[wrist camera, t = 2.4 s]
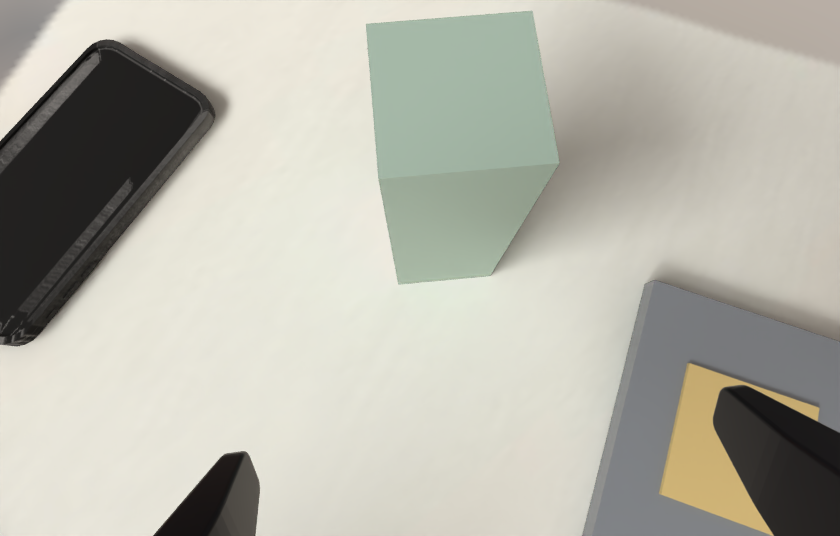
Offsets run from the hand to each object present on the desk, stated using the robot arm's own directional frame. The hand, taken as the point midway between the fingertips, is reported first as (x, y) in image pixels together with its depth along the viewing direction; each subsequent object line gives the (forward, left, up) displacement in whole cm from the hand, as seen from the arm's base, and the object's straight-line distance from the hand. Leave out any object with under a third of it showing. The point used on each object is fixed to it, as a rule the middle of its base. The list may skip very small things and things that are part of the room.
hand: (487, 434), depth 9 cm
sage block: (+8, +3, -13) cm, 15 cm away
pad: (+3, -12, -13) cm, 18 cm away
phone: (+4, +21, -14) cm, 26 cm away
